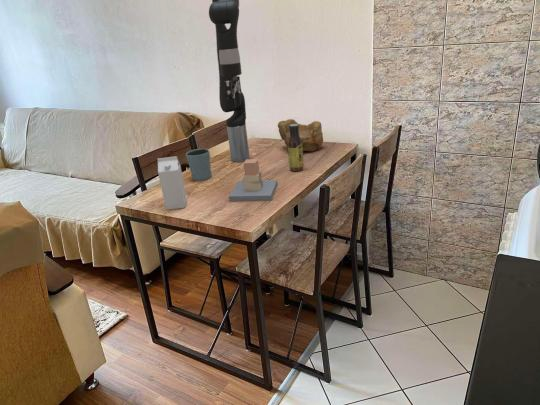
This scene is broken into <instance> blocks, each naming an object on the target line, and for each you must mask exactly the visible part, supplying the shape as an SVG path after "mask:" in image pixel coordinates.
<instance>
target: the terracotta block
mask: <svg viewBox="0 0 540 405" xmlns="http://www.w3.org/2000/svg"><path fill="white" fill-rule="evenodd" d="M243 171H244V174H245V176H256V175H257V174H258V173H259V171H260V166H259V159H258V158H257V159H256V158H251V159H246V160H245V161H243Z"/></svg>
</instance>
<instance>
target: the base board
mask: <svg viewBox="0 0 540 405" xmlns="http://www.w3.org/2000/svg"><path fill="white" fill-rule="evenodd" d="M262 183H263V185H262V187H261V189H260V191H245V190H244V182H243V180H241V181H240V180H238V182H237V183H236V184H235V187H233V189H232V191H231V193H229V196H228V198H229V202H261V201H263V202H265V201H267V202H268V201H269V202H270V201H272V200H273V197H274V195H275V192H276V190H277V187H278V184H279V183H278V180H277V179H269V180H268V179H267V180H265V179H264V180H263V179H262Z"/></svg>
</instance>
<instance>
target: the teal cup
mask: <svg viewBox="0 0 540 405" xmlns="http://www.w3.org/2000/svg"><path fill="white" fill-rule="evenodd" d="M210 156H211V155H210V150H209V149H208V148H196V149H192V150H188V151H187V152H186V153H185V157H186V159H187V163H188V165H189V166H188V167H189V171H190V173H191V178H192V180H193V181H195V182H203V181H207V180H209V179H211V178H212V169H211V166H212V165H211V162H210V160H211V157H210Z"/></svg>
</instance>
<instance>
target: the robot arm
mask: <svg viewBox="0 0 540 405" xmlns="http://www.w3.org/2000/svg"><path fill="white" fill-rule="evenodd" d="M211 2H212V3H211V4H209V8H208V17H209V20H210V21H211V23H213V24H214V26H215V39H216V54H217V64H218V76H219V77H218V78H219V87H218V88H219V89H218V90H219V91H218V92H219V95H218V96H219V98H218V99H219V104H220V105H219V106H220V108H221V110H222V112H224V113H230V112H233V113H232V115H231V116H230V117H228V118H227V119H226V121H225V123H226V131H227V136H228V137H227V139H228V146H229V153H230V160H231V162H235V163H240V162H241V163H242V162H245V160H246V159H250V158H251V156H250V149H249V141H248V140H249V139H248V132H247V123H246V120H247V111H246V110H247V109H246V100H245V95H244V93H243V92H242V85H241V79H240V78H241V77H240V75H242V74H243V72H242V65H241V64H242V63H241V56H240V50H239V44H238V23H239V17H240V9H239V8H240V0H211ZM229 24H230V26H229V28H228V27H227V26H226V25H229Z"/></svg>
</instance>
